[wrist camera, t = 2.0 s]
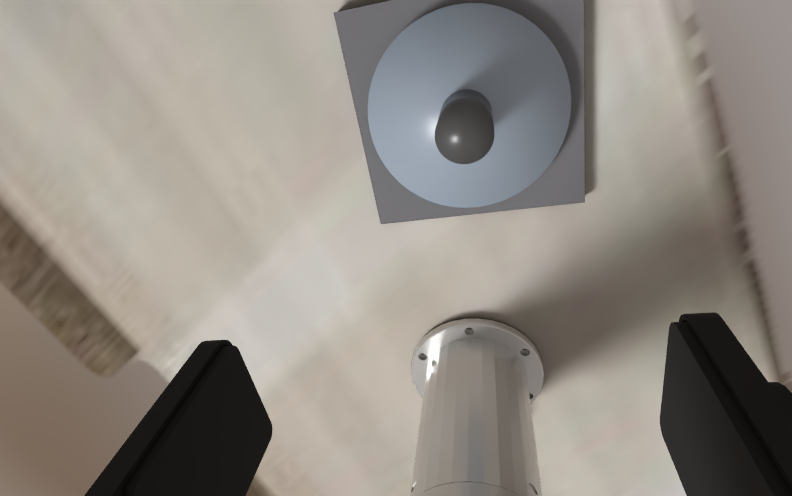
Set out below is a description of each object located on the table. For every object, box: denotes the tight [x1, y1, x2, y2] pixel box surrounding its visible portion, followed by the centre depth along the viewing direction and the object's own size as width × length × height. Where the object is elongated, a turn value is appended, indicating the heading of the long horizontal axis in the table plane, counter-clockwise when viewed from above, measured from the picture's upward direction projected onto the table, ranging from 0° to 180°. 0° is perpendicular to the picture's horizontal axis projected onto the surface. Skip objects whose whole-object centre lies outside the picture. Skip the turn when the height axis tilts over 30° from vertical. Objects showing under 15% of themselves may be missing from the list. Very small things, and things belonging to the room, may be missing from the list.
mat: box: [334, 0, 585, 224], centre depth 34 cm, size 16×16×1 cm
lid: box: [368, 3, 571, 208], centre depth 31 cm, size 14×14×6 cm
